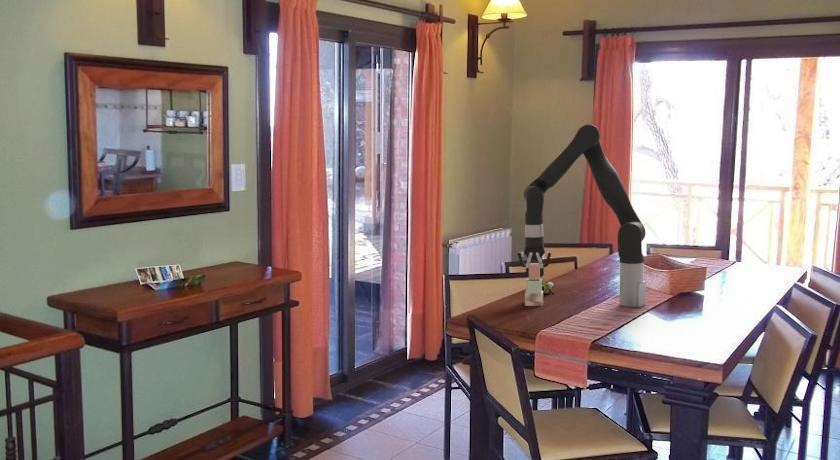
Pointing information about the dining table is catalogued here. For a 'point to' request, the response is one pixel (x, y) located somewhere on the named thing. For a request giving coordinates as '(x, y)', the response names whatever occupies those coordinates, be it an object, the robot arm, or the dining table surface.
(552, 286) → the toy
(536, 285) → the tower top
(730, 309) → the dining table surface
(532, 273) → the clay block
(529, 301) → the tower base
